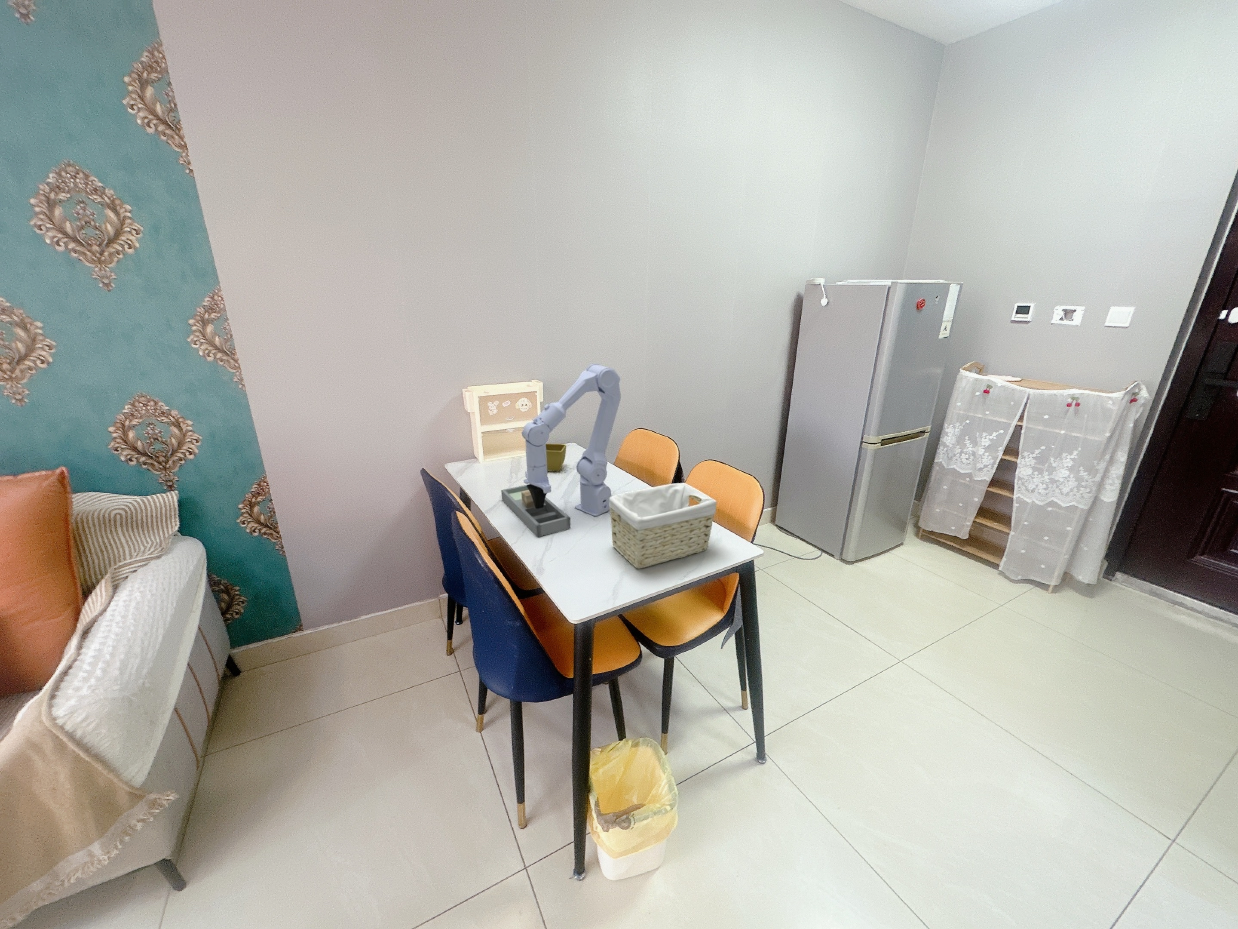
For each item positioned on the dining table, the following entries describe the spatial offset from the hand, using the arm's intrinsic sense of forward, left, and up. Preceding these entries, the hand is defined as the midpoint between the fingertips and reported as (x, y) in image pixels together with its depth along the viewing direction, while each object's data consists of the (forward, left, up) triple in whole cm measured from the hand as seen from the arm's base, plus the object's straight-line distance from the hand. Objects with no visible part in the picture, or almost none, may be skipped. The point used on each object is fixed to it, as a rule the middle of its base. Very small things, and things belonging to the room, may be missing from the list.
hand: (539, 507), depth 143 cm
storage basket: (-37, -11, -4) cm, 39 cm away
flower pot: (+31, -30, -4) cm, 43 cm away
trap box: (+5, -1, -4) cm, 6 cm away
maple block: (+7, -2, -2) cm, 7 cm away
